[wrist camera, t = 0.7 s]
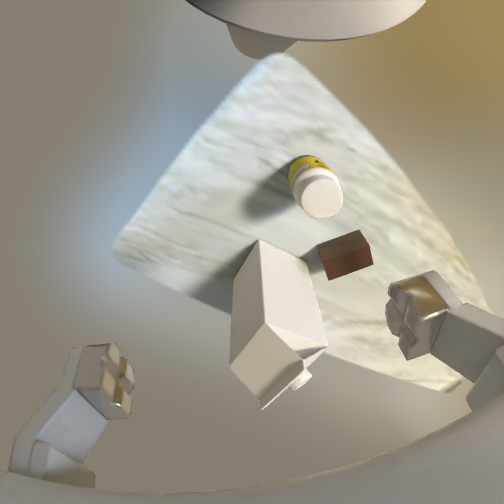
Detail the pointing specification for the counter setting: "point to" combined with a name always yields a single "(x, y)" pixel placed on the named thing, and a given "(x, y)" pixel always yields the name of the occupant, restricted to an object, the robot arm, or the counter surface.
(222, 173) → the counter surface
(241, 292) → the milk carton
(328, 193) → the supplement bottle
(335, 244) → the brown wooden block
